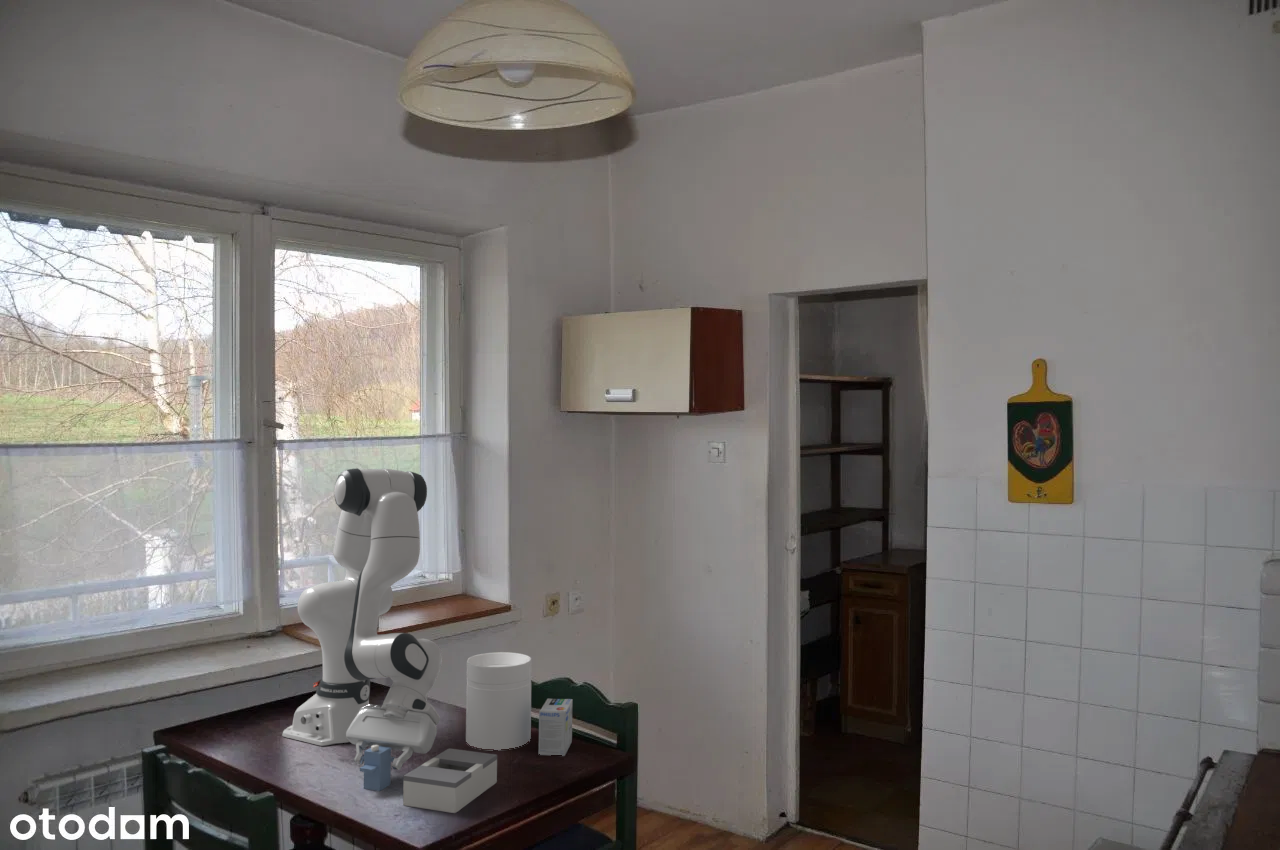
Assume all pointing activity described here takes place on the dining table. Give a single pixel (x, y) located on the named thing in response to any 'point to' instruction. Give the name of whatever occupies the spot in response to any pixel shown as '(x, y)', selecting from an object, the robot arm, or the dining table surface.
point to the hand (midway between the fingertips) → (376, 765)
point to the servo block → (377, 767)
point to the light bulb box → (555, 727)
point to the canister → (498, 700)
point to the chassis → (450, 780)
